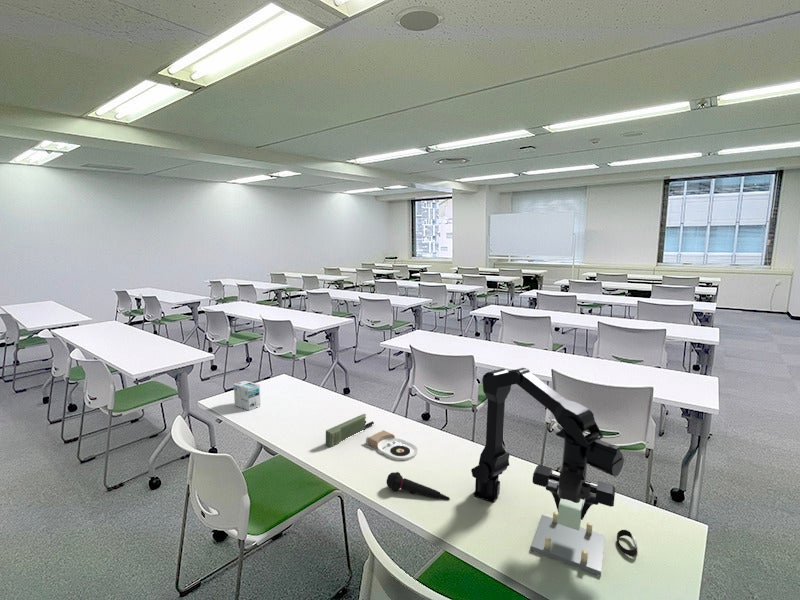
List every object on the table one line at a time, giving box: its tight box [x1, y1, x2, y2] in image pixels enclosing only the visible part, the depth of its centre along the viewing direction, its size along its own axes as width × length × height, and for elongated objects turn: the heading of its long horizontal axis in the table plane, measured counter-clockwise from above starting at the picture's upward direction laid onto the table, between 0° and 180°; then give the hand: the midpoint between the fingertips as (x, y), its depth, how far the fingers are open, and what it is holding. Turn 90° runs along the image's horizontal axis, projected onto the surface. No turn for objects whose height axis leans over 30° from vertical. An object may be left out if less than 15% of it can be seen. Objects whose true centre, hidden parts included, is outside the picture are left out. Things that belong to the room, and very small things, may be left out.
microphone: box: [386, 471, 450, 501], centre depth 126 cm, size 6×6×20 cm
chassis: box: [530, 511, 606, 577], centre depth 105 cm, size 16×14×4 cm
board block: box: [557, 499, 584, 531], centre depth 104 cm, size 5×7×5 cm
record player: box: [365, 429, 419, 461], centre depth 154 cm, size 12×3×20 cm
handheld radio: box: [325, 413, 375, 448], centre depth 163 cm, size 7×3×25 cm
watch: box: [616, 529, 639, 557], centre depth 105 cm, size 8×5×4 cm, turn 165°
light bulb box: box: [233, 380, 261, 411], centre depth 190 cm, size 11×7×11 cm, turn 58°
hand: (570, 515), depth 104 cm, fingers closed on board block, 5 cm apart
